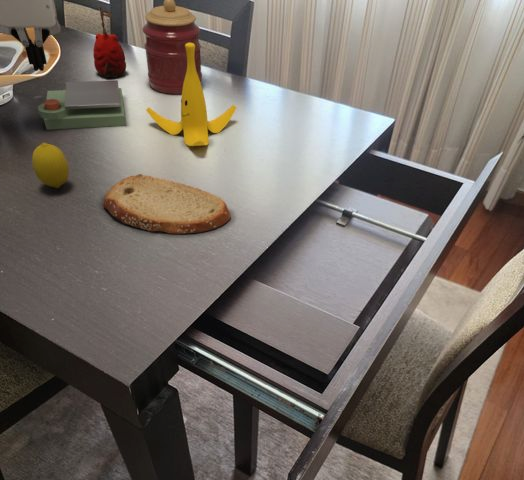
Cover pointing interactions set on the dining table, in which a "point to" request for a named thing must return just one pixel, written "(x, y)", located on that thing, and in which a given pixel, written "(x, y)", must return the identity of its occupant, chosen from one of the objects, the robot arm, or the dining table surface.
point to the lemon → (50, 165)
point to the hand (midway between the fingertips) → (39, 68)
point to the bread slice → (165, 205)
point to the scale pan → (92, 94)
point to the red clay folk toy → (108, 53)
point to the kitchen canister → (170, 46)
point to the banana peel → (193, 109)
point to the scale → (80, 114)
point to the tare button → (52, 104)
